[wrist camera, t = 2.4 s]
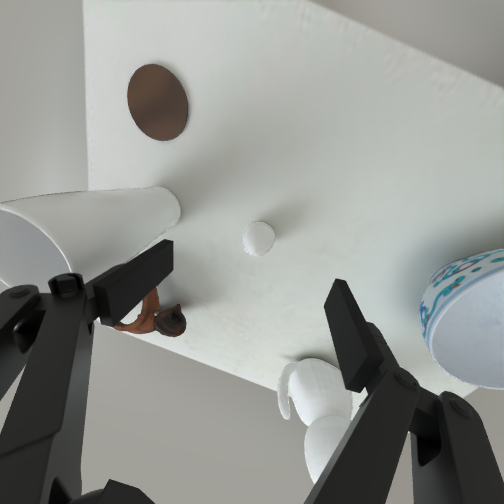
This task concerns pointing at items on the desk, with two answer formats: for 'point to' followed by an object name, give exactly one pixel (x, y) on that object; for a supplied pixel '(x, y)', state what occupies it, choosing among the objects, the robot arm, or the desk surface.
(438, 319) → the chinaware
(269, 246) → the egg
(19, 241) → the drinking glass
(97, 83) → the desk surface
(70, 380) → the robot arm
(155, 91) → the coaster
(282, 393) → the cat figurine
